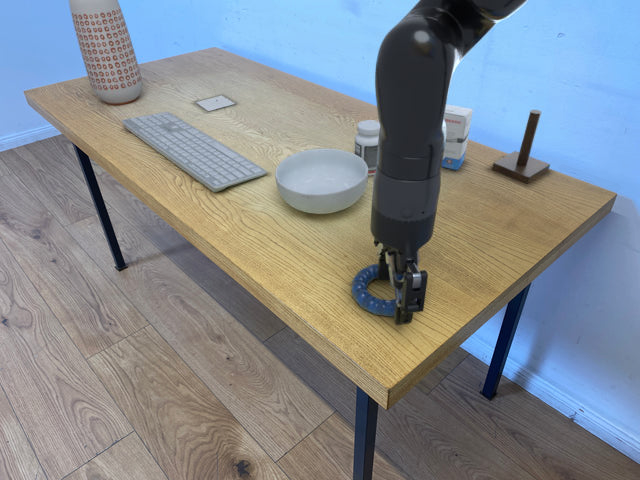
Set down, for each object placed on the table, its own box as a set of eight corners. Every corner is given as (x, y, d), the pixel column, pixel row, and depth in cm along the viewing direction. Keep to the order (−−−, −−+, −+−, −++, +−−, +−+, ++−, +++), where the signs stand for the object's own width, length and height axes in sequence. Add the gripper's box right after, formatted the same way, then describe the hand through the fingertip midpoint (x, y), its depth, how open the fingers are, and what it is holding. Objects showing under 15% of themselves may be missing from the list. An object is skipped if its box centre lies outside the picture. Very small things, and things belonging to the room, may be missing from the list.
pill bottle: (385, 166, 99) (388, 121, 93) (376, 178, 95) (379, 132, 89) (359, 161, 101) (361, 117, 95) (349, 173, 97) (350, 128, 91)
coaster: (195, 102, 129) (195, 99, 129) (221, 95, 133) (221, 92, 133) (208, 111, 124) (207, 108, 124) (235, 103, 128) (234, 101, 127)
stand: (548, 170, 96) (566, 112, 89) (527, 184, 92) (544, 124, 85) (513, 156, 101) (527, 100, 94) (491, 169, 97) (505, 111, 90)
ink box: (464, 161, 100) (474, 107, 93) (457, 171, 97) (467, 116, 90) (426, 152, 104) (433, 100, 96) (418, 161, 100) (424, 108, 93)
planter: (156, 94, 135) (129, -16, 118) (122, 111, 126) (88, -6, 108) (120, 88, 140) (90, -19, 122) (85, 104, 130) (47, -10, 113)
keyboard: (268, 175, 97) (267, 165, 96) (216, 197, 91) (214, 187, 89) (168, 114, 124) (166, 105, 122) (122, 128, 117) (119, 119, 116)
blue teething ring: (435, 295, 68) (437, 284, 67) (386, 330, 63) (387, 319, 62) (385, 262, 75) (386, 251, 73) (337, 291, 69) (337, 280, 68)
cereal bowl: (312, 171, 98) (311, 139, 94) (383, 194, 90) (385, 161, 86) (259, 209, 87) (255, 175, 83) (333, 239, 79) (333, 204, 75)
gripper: (459, 232, 49) (437, 335, 59) (416, 167, 60) (404, 263, 70) (390, 240, 49) (379, 343, 58) (359, 172, 60) (355, 268, 70)
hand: (393, 299), depth 64 cm, fingers open, 8 cm apart
